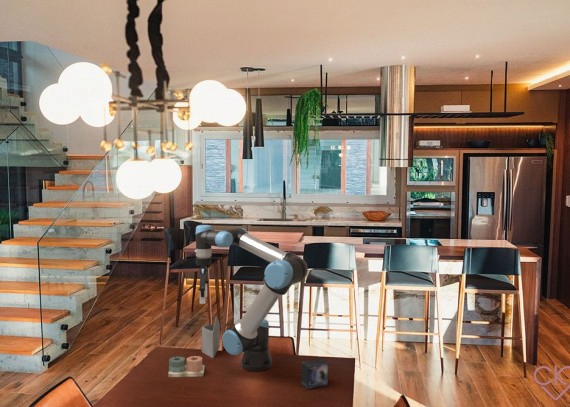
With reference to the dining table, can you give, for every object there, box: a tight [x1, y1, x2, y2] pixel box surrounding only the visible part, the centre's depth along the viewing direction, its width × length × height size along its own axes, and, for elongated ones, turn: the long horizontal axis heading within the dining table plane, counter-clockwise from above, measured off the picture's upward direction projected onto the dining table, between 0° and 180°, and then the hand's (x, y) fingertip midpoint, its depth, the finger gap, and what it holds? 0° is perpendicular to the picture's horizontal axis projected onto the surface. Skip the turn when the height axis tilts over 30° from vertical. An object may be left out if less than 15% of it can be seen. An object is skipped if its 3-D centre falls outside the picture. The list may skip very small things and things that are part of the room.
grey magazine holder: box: [201, 315, 221, 359], centre depth 272 cm, size 16×8×19 cm, turn 177°
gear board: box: [167, 356, 206, 378], centre depth 245 cm, size 16×10×6 cm, turn 95°
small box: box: [300, 358, 329, 390], centre depth 232 cm, size 11×6×10 cm, turn 118°
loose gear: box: [186, 355, 203, 372], centre depth 245 cm, size 7×7×5 cm
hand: (203, 300), depth 255 cm, fingers open, 13 cm apart
